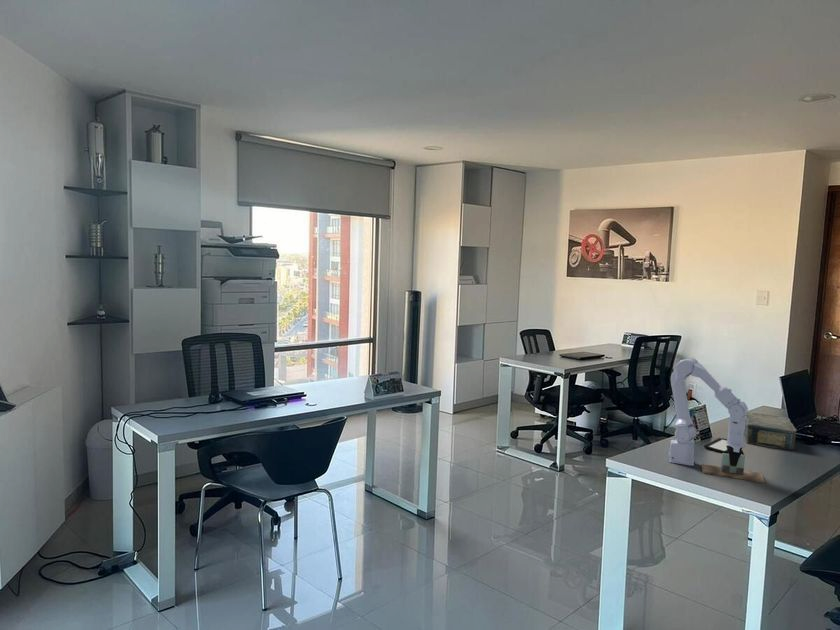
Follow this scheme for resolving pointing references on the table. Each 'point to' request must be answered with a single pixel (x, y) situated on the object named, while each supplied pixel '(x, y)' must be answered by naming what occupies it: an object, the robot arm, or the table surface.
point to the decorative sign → (718, 446)
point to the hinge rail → (739, 473)
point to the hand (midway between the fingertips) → (732, 465)
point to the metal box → (769, 431)
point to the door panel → (726, 462)
